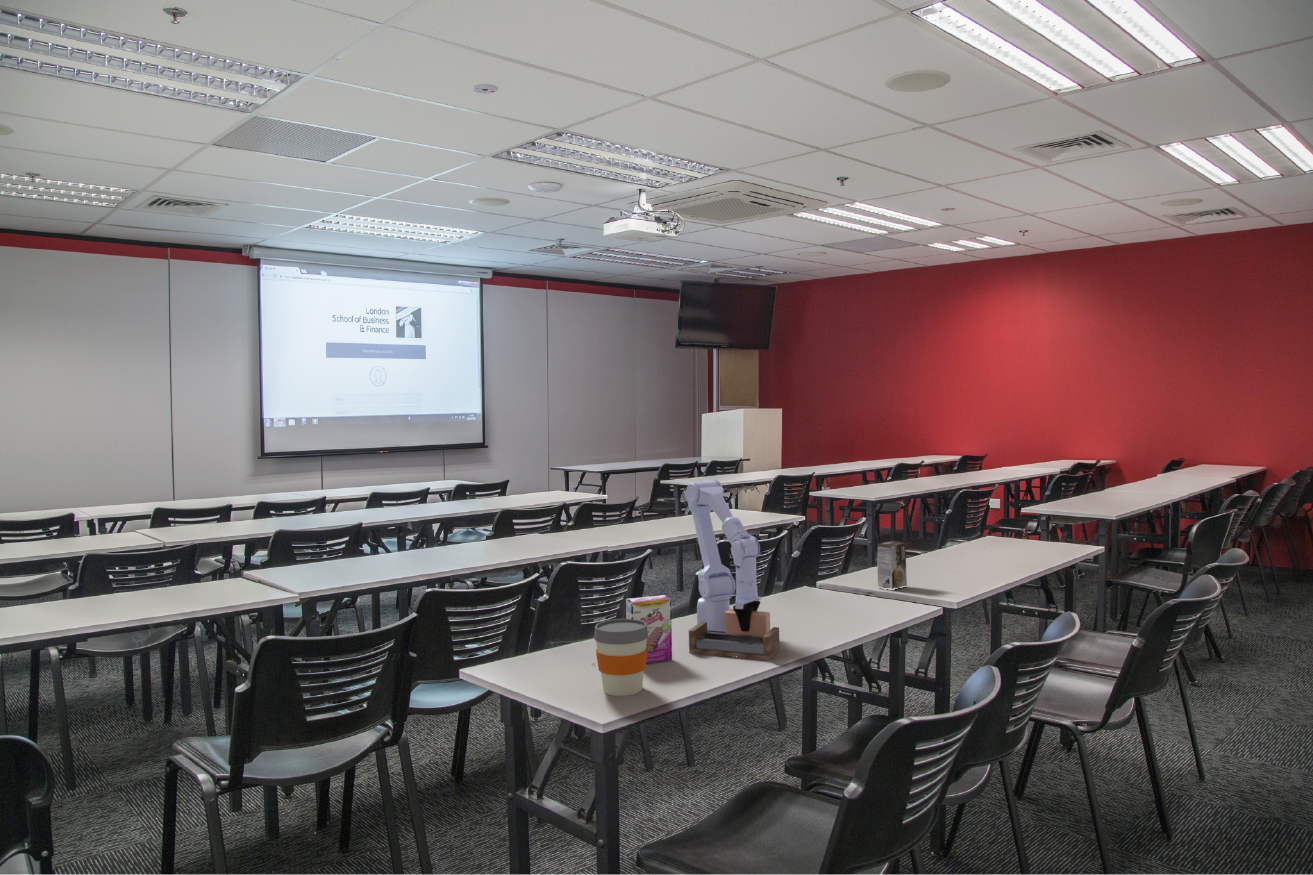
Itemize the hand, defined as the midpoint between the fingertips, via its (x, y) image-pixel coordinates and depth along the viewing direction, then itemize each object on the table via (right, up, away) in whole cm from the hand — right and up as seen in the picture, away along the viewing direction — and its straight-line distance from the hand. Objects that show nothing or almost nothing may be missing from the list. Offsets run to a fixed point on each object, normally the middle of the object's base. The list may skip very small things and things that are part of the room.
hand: (747, 628), depth 223 cm
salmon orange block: (0, -2, 0) cm, 2 cm away
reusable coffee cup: (-33, -5, -39) cm, 51 cm away
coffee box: (+59, 0, +61) cm, 85 cm away
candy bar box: (-27, -4, -17) cm, 33 cm away
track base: (-5, -3, -11) cm, 12 cm away
